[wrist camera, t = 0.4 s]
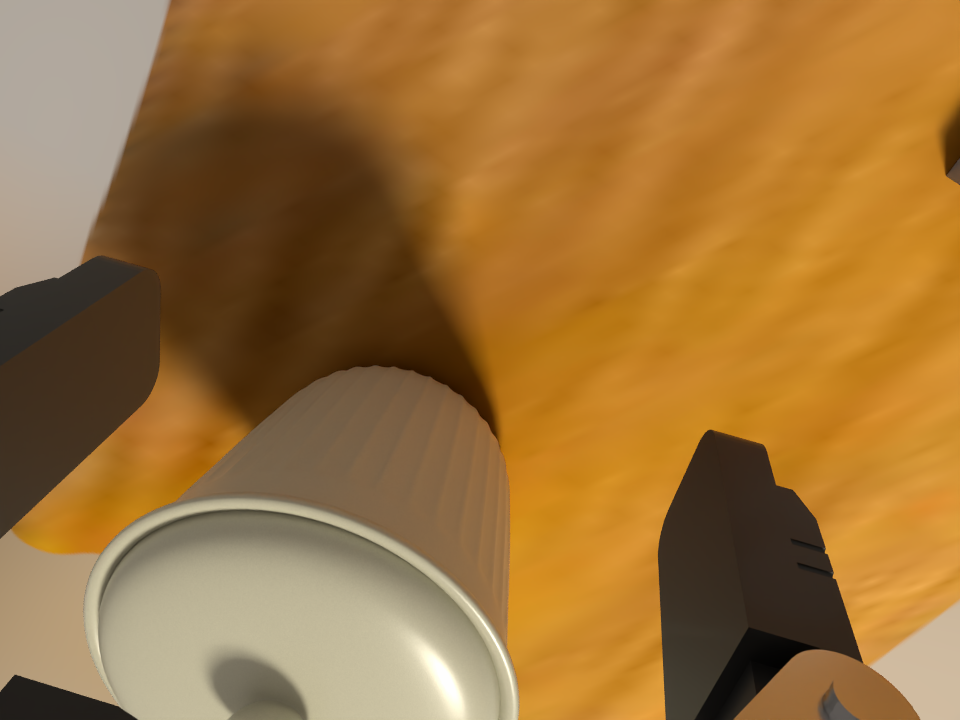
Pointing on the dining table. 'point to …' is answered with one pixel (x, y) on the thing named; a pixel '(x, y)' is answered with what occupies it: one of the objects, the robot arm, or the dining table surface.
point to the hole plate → (955, 172)
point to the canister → (321, 569)
